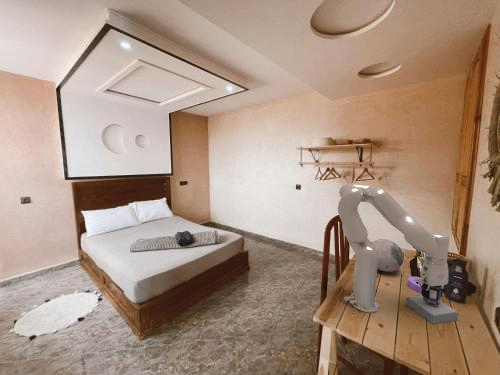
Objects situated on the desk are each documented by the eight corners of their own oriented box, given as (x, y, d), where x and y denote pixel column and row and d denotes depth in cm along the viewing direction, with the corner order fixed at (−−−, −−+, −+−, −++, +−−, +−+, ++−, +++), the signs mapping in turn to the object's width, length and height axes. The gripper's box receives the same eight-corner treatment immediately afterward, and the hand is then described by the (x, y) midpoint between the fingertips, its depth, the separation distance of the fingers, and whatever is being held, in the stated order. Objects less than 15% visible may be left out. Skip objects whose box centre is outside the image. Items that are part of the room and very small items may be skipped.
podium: (432, 324, 89) (433, 315, 89) (405, 303, 102) (406, 296, 102) (457, 320, 91) (458, 311, 91) (428, 300, 104) (429, 293, 104)
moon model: (369, 275, 128) (371, 244, 125) (363, 260, 147) (364, 233, 144) (407, 280, 122) (410, 248, 119) (395, 264, 140) (398, 236, 138)
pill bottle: (431, 296, 99) (433, 275, 98) (443, 305, 93) (446, 282, 92) (419, 297, 99) (421, 275, 98) (430, 305, 93) (433, 283, 92)
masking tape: (417, 280, 122) (417, 274, 121) (440, 292, 111) (441, 286, 110) (402, 284, 118) (403, 278, 118) (425, 297, 107) (426, 290, 107)
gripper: (427, 265, 89) (423, 303, 91) (460, 261, 91) (456, 299, 93) (411, 257, 96) (407, 293, 98) (442, 254, 98) (438, 289, 101)
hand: (431, 295), depth 96 cm, fingers closed on pill bottle, 6 cm apart
